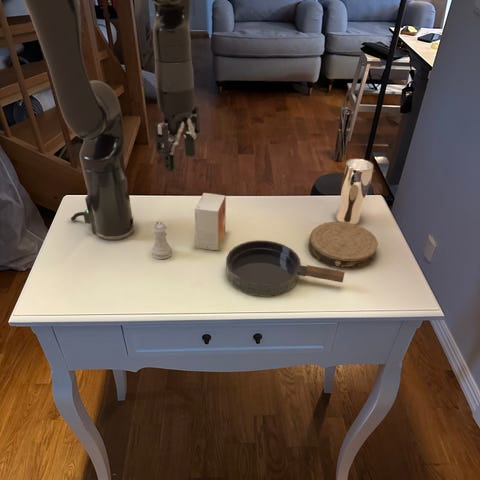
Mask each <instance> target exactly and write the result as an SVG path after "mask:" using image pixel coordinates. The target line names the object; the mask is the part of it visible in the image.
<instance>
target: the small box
mask: <svg viewBox="0 0 480 480" xmlns="http://www.w3.org/2000/svg"><path fill="white" fill-rule="evenodd" d="M226 206H227V196H226V195H224V194H218V193H210V192H203V193H202V195H201V197H200V198H199V201H198V202H197V204H196V206H195V207H194V230H195V247H196V249H202V250H211V251H219V250H220V247H221V246H222V244H223V241H224V238H225V236H226V222H227V221H226V217H227V215H226V211H227V209H226Z"/></svg>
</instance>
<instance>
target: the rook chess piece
mask: <svg viewBox="0 0 480 480" xmlns="http://www.w3.org/2000/svg"><path fill="white" fill-rule="evenodd" d="M152 225H153V226H152V227H151V230H152V231H153V236H154V244H153V247H152V256H153V257H154V258H155V259H157V260H166V259H168V258H170V257H171V256H172V253H173V251H172V247H171V245H169V243H168V240H167V232H166V231H167V230H168V227H167V226H166V223H165V222H163V221H156V222H155V223H153V224H152Z"/></svg>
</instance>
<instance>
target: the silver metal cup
mask: <svg viewBox="0 0 480 480" xmlns="http://www.w3.org/2000/svg"><path fill="white" fill-rule="evenodd" d="M373 170H374V164H373V163H372V162H371V161H369V160H366V159H364V158H350V159H348V160H347V161H346V162H345V166H344V170H343V173H342V176H341V183H340V204H339V209H338V211H337V213H336V217H335V218H336V221H337V222H347V223H351V224H356V225H358V223H359V222H360V220H361V209H362V207H363V203H364V201H365V199H366V197H367V194H368V192H369V189H370V185H371V182H372V177H373V172H374V171H373Z"/></svg>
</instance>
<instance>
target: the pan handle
mask: <svg viewBox="0 0 480 480" xmlns="http://www.w3.org/2000/svg"><path fill="white" fill-rule="evenodd" d="M345 273H346V272H345V271H343V270H338V269H337V270H336V269H331V268H325V267H320V266H314V265H309V264H306V265H302V264H301V267H300V270H299V274H298V275H299V277H300V276H301V277H310V278H315V279H322V280H327V281H331V282H337V283H343V282H344V278H345Z"/></svg>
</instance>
